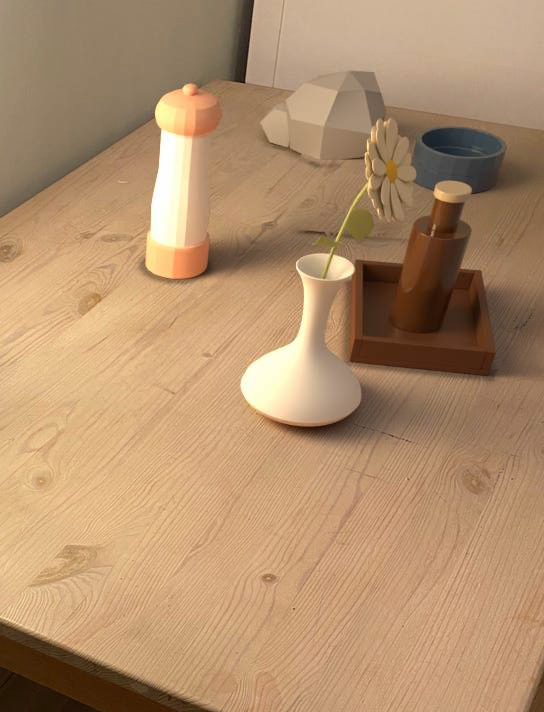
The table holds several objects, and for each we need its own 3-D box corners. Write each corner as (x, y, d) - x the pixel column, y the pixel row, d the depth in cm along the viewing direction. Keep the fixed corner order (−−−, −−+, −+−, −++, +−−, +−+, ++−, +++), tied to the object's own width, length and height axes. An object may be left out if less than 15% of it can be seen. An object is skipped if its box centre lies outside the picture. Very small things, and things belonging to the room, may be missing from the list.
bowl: (490, 168, 130) (502, 129, 126) (497, 201, 122) (510, 161, 119) (406, 162, 131) (415, 123, 128) (408, 195, 124) (418, 155, 120)
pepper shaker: (163, 284, 108) (176, 101, 94) (134, 257, 113) (143, 79, 99) (218, 271, 110) (239, 90, 96) (188, 245, 115) (203, 69, 101)
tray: (474, 292, 106) (481, 270, 104) (487, 375, 95) (496, 352, 93) (350, 281, 108) (355, 259, 106) (349, 361, 97) (354, 338, 95)
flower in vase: (292, 452, 86) (351, 166, 68) (214, 394, 93) (249, 118, 74) (395, 408, 91) (476, 129, 72) (314, 355, 97) (370, 88, 79)
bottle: (441, 309, 102) (481, 178, 92) (444, 335, 99) (486, 201, 89) (388, 304, 103) (422, 173, 93) (389, 330, 100) (424, 197, 89)
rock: (238, 141, 137) (247, 66, 130) (322, 107, 146) (334, 36, 139) (342, 177, 128) (357, 99, 121) (424, 138, 137) (443, 64, 130)
